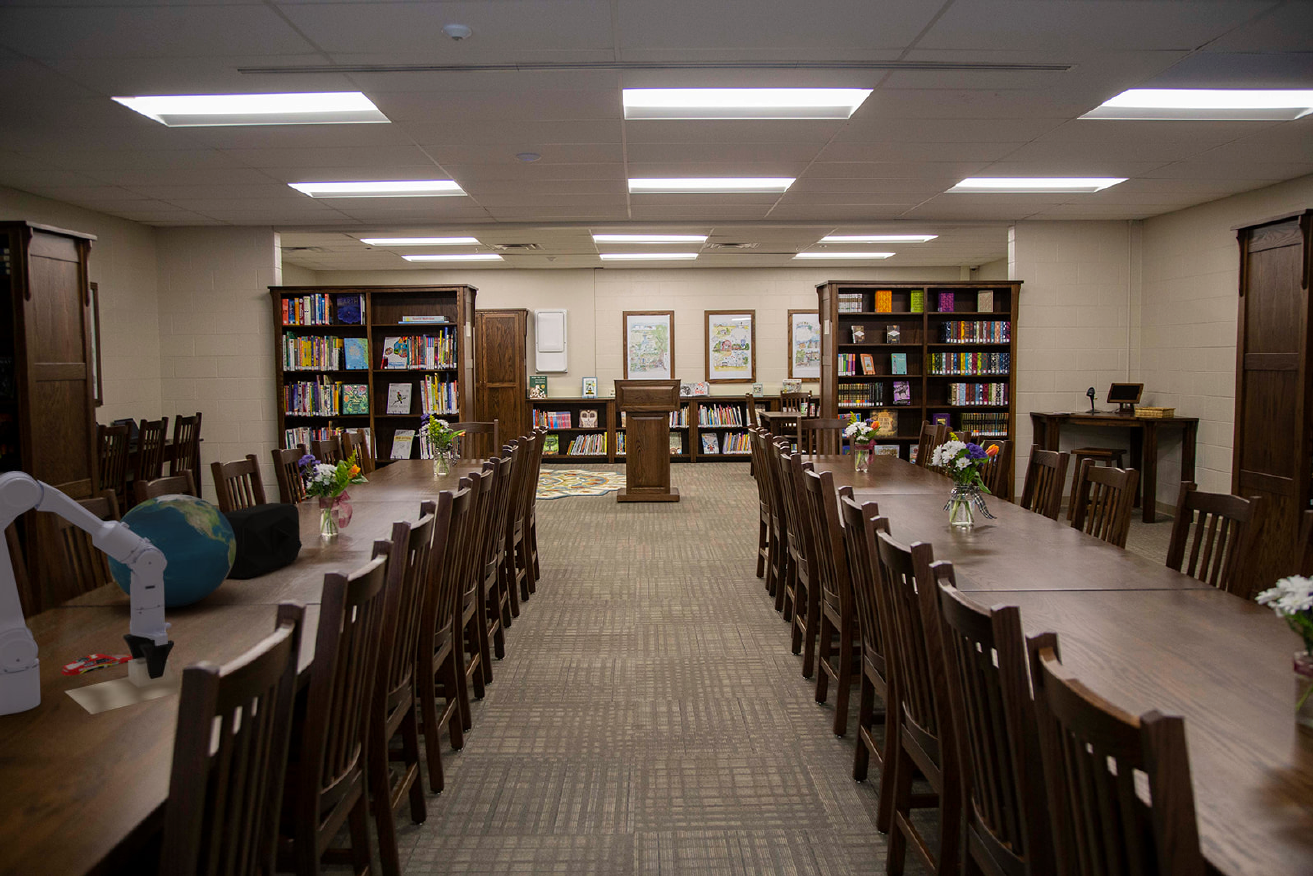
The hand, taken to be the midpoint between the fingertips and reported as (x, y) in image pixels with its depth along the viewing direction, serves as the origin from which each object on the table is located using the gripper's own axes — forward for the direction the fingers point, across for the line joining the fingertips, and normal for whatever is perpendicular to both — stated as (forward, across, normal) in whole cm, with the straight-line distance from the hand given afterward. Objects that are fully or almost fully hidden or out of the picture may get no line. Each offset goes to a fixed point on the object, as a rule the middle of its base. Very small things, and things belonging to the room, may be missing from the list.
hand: (149, 672), depth 168 cm
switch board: (+3, -3, +4) cm, 6 cm away
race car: (+4, +17, +4) cm, 17 cm away
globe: (+3, +59, -26) cm, 65 cm away
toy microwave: (+2, 0, 0) cm, 2 cm away
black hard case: (+3, +83, -61) cm, 103 cm away
